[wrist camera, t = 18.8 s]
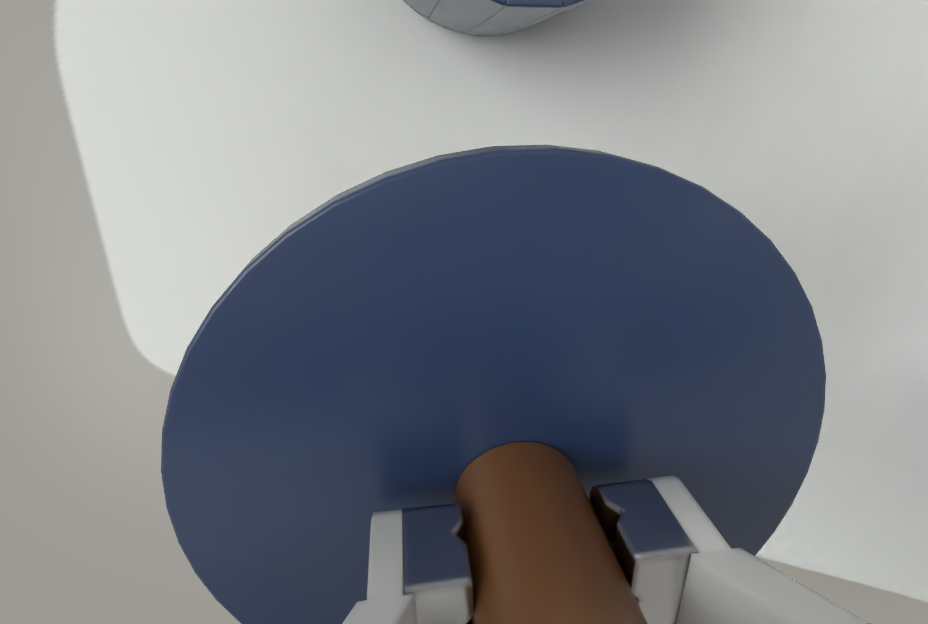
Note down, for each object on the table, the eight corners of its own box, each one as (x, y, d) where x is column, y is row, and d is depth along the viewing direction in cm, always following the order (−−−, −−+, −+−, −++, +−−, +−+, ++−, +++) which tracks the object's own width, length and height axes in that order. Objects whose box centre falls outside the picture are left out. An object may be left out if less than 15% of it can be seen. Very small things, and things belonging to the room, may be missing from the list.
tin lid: (900, 253, 10) (1355, 402, 5) (632, 658, 14) (748, 934, 10) (237, 21, 7) (-86, -118, 2) (157, 619, 11) (-9, 992, 7)
